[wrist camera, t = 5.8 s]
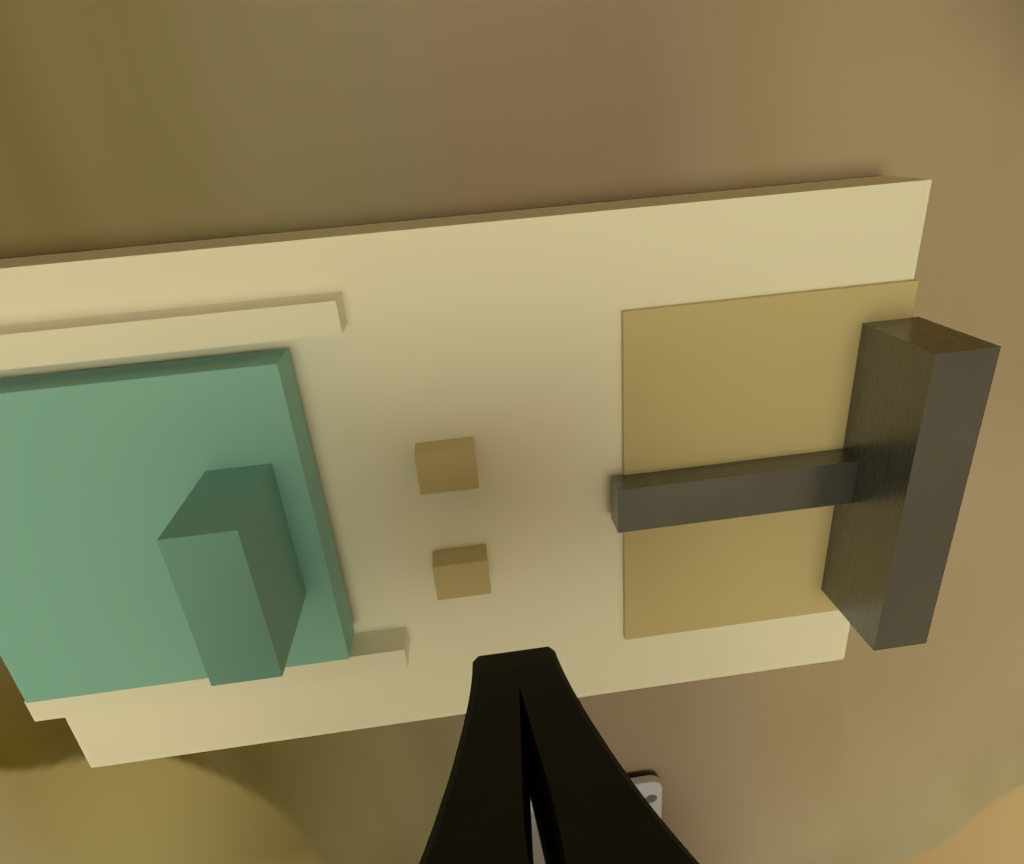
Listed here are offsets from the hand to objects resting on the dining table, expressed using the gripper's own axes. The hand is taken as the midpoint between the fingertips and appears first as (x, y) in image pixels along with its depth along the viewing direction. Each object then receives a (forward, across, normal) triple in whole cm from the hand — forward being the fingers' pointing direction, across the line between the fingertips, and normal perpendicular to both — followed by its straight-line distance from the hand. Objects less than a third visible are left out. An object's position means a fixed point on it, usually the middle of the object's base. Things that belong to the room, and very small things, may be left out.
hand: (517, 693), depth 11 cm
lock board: (+10, +1, +1) cm, 10 cm away
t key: (+8, -8, +1) cm, 11 cm away
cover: (+8, +9, 0) cm, 12 cm away
